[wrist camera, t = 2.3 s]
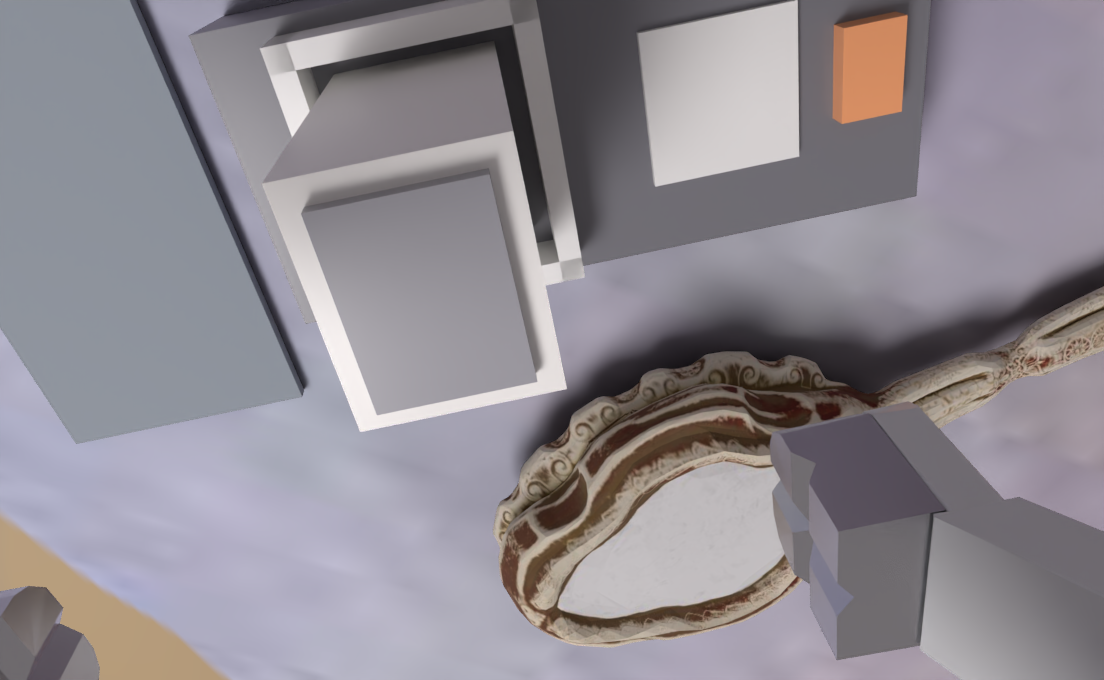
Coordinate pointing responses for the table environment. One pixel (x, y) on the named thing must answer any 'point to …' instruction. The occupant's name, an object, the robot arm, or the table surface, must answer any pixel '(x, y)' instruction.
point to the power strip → (619, 106)
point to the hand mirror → (709, 483)
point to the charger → (418, 239)
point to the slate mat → (119, 233)
